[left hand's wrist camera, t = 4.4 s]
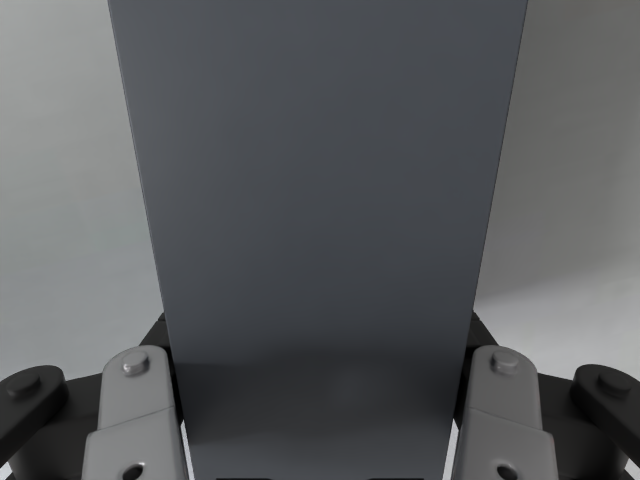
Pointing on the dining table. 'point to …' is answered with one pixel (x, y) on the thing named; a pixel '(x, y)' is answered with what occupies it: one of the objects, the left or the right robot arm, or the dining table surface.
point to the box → (318, 218)
